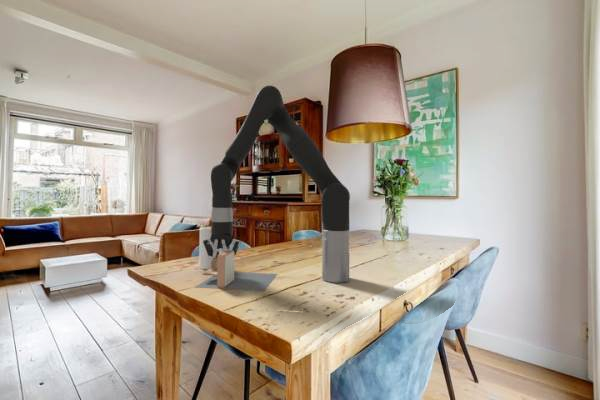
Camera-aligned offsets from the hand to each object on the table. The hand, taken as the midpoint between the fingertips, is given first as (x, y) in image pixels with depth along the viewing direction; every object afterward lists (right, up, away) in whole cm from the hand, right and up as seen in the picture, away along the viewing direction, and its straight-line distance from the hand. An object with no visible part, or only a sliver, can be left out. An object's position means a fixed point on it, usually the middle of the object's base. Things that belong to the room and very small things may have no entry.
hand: (221, 267), depth 101 cm
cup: (-8, -3, +12) cm, 14 cm away
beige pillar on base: (0, 0, -2) cm, 2 cm away
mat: (+8, -3, -6) cm, 10 cm away
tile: (+4, -3, -10) cm, 11 cm away
